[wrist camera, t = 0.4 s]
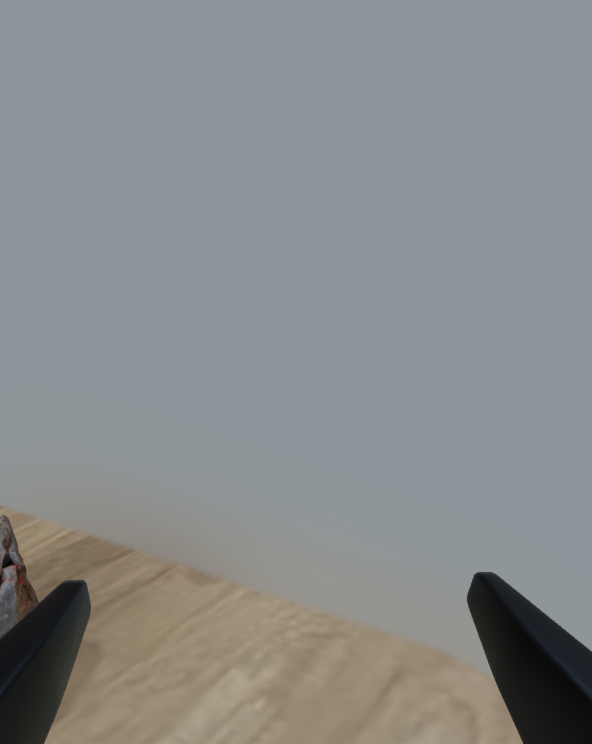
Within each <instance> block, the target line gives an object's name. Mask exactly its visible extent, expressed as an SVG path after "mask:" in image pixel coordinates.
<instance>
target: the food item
mask: <svg viewBox="0 0 592 744" xmlns="http://www.w3.org/2000/svg"><path fill="white" fill-rule="evenodd" d="M17 545H18V544H17V541H16V538H15V535H14V533H13V530H12V527H11V525H10V522H9V519H8V517H7V516H4V515H2V516H0V638H1V637H2V636H3V635H4V634H5V633H6V632H7V631H9V630H10V629H11V628H12V627H13V626H14V625H15V624H16V623H17V622H19V621H20V620H21V619H22V618H23V617H24V616H25V615H26V614H27V613H29V612H30V611H31V610H32V609H33V608H34V607H35V606H36V605H37V604H39V602H38V600H37V597H36V594H35V591H34V589H33V587H32V586H31V584H30V583H29V581H28V579H27V577H26V568H25V565H24V564H23V559H22V557H21V555H20V554H19V551H18V546H17Z"/></svg>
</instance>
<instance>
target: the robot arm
mask: <svg viewBox="0 0 592 744" xmlns="http://www.w3.org/2000/svg"><path fill="white" fill-rule="evenodd" d="M467 603H468V607H469V610H470V613H471V615H472V618H473V621H474V624H475V627H476V629H477V632H478V635H479V638H480V640H481V643H482V646H483V649H484V652H485V654H486V657H487V660H488V663H489V665H490V668H491V671H492V674H493V676H494V679H495V681H496V684H497V686H498V688H499V691H500V693H501V695H502V697H503V700H504V702H505V704H506V706H507V708H508V711H509V713H510V715H511V717H512V719H513V722H514V724H515V726H516V728H517V730H518V733H519V735H520V737H521V739H522V742H523V744H592V651H590V650H589V649H588V648H587V647H585V646H584V645H583V644H582V643H580V642H579V641H578V640H576V639H575V638H574V637H573V636H572V635H570V634H569V633H568V632H567V631H566V630H564V629H563V628H562V627H561V626H559V625H558V624H557V623H555V622H554V621H553V620H552V619H551V618H550V617H548V616H547V615H546V614H545V613H543V612H542V611H541V610H540V609H538V608H537V607H536V606H535V605H533V604H532V603H531V602H530V601H529V600H527V599H526V598H525V597H524V596H522V595H521V594H520V593H519V592H517V591H516V590H515V589H514V588H512V587H511V586H510V585H509V584H507V583H506V582H505V581H504V580H503V579H501V578H500V577H499V576H497V575H496V574H494V573H492V572H478V573H476V574H475V575H474V577H473V580H472V583H471V586H470V589H469V591H468V595H467ZM90 611H91V604H90V599H89V593H88V588H87V584H86V582H85V581H84V580H67V581H64V582H62V583H61V584H60V585H59V586H57V587H56V588H55V589H54V590H53V591H52V592H51V593H50V594H49V595H47V596H46V597H45V598H44V599H43V600H42V601H41V602H40V603H39V604H37V605H36V606H35V607H34V608H33V609H32V610H31V611H30V612H29V613H27V614H26V615H25V616H24V617H23V618H22V619H21V620H20V621H19V622H17V623H16V624H15V625H14V626H13V627H12V628H11V629H10V630H9V631H7V632H6V633H5V634H4V635H3V636H2V637H1V638H0V744H44V742H45V740H46V737H47V735H48V733H49V730H50V728H51V726H52V723H53V721H54V719H55V716H56V714H57V711H58V709H59V706H60V704H61V701H62V698H63V695H64V692H65V689H66V686H67V683H68V680H69V677H70V674H71V671H72V668H73V665H74V662H75V659H76V656H77V653H78V650H79V647H80V644H81V641H82V638H83V635H84V632H85V629H86V626H87V623H88V620H89V616H90Z"/></svg>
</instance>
